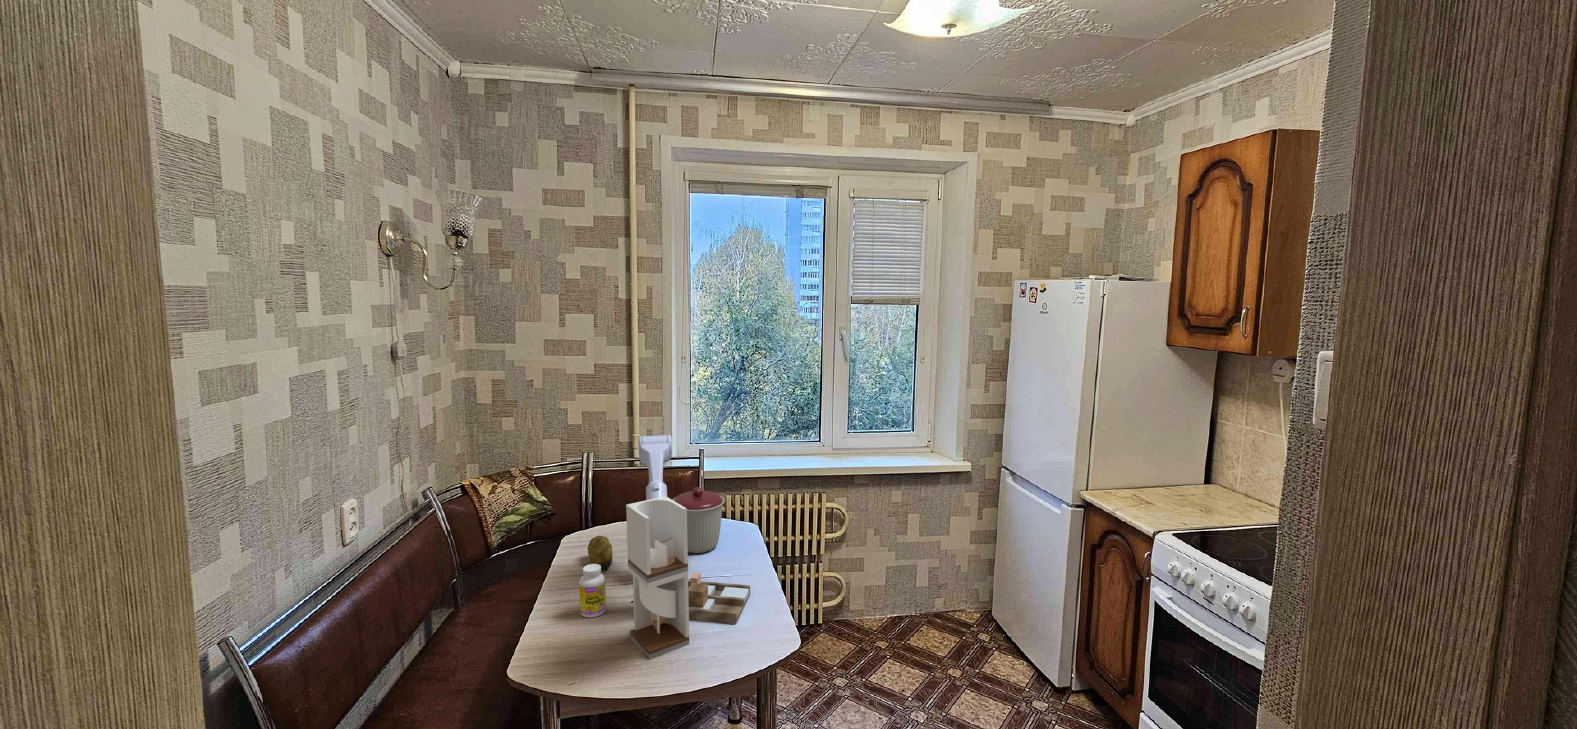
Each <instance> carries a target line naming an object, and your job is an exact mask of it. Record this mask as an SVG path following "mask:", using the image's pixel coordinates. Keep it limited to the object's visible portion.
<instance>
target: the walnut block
mask: <svg viewBox="0 0 1577 729" xmlns="http://www.w3.org/2000/svg"><path fill="white" fill-rule="evenodd" d="M688 599H689V607H699V608H703V607H704V605H705V604H706V602H707V601H708V584H699V583H692V584H691V585H690V587H689V588H688Z"/></svg>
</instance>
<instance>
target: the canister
mask: <svg viewBox="0 0 1577 729" xmlns="http://www.w3.org/2000/svg"><path fill="white" fill-rule="evenodd" d="M672 500H673V501H675V502H676V503H678V504H680V505H682V506H683V507H685V508H687V544H688V553H690V554H703V553H706V552H707V553H708V552H710V551H712V550H713V549H715V548H716V547H717V546H718V543H719V540H720V535H721V534H720V532H721V526H722V525H721V524H722V516H723V514H722V513H723V505H724V504H725V502H726V500H725V497H723V496H722V495H720V494H719V493H716V492H714V491H709V490H704V489H703V488H702V487H700V486H698V487H694V488H693V489H692V491H687V492H683V493H680V494H679V495H677V496H675V497H674V498H673V499H672Z"/></svg>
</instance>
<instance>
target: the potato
mask: <svg viewBox="0 0 1577 729" xmlns="http://www.w3.org/2000/svg"><path fill="white" fill-rule="evenodd" d="M587 555H588V558H589V564H598V565H600V566H601V571H605V570H608V569H609V568H610V567H611V565H612V564H613V546H612V544H611V543H610V540H609V539H608V537H606V536H603V535H596V536H594V537H592V538H591V539H590V540H589V543H588V545H587Z"/></svg>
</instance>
